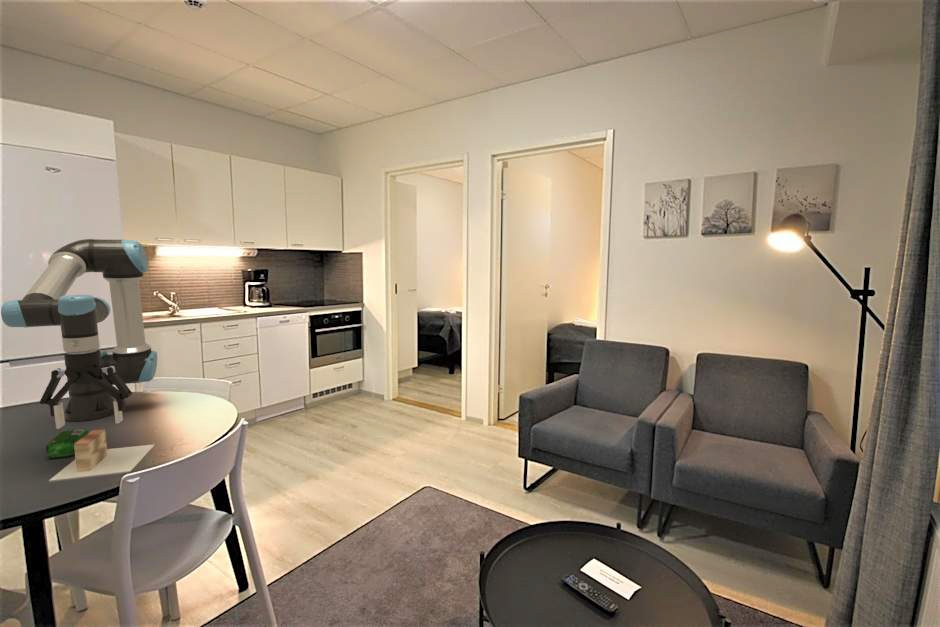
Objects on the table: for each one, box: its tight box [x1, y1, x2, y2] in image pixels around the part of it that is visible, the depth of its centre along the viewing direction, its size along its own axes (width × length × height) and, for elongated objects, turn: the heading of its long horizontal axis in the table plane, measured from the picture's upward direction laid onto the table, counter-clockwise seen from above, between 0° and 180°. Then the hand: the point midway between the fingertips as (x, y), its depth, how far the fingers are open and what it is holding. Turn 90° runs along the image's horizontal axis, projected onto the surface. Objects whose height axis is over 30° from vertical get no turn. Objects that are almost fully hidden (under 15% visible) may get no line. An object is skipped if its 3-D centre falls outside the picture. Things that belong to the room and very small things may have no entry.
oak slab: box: [74, 428, 108, 472], centre depth 124 cm, size 10×3×8 cm, turn 18°
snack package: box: [45, 428, 90, 459], centre depth 133 cm, size 7×16×5 cm, turn 25°
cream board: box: [48, 444, 156, 483], centre depth 126 cm, size 18×18×1 cm
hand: (90, 424), depth 124 cm, fingers open, 13 cm apart
